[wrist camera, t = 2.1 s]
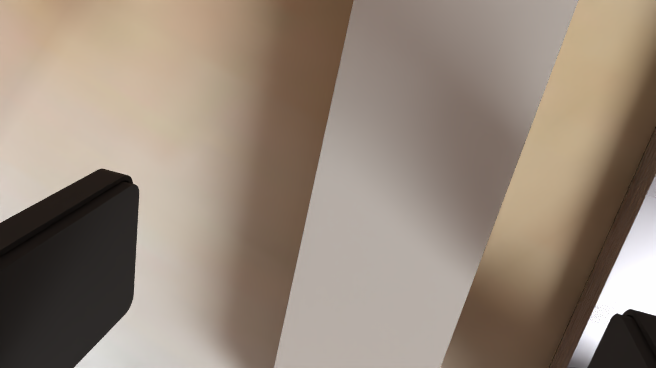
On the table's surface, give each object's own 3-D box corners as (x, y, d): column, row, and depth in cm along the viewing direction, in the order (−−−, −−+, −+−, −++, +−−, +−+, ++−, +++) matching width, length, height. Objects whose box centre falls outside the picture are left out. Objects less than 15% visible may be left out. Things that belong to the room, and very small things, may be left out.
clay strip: (621, -239, 12) (716, -366, 8) (383, 445, 21) (361, 576, 16) (448, -268, 13) (441, -404, 8) (286, 411, 21) (239, 528, 17)
